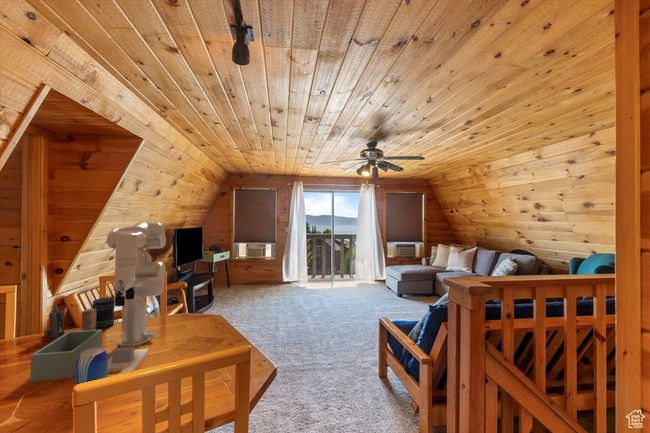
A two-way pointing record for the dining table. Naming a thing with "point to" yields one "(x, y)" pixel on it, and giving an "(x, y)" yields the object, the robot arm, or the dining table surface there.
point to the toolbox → (63, 355)
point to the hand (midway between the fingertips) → (125, 302)
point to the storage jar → (104, 312)
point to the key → (89, 319)
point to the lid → (125, 359)
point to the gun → (55, 324)
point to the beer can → (91, 365)
